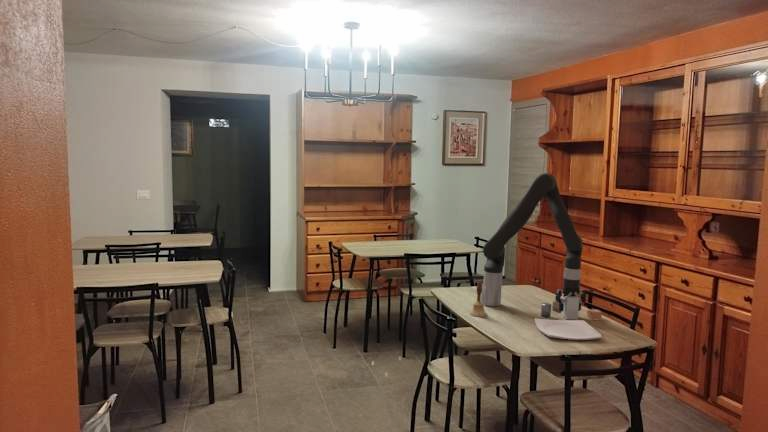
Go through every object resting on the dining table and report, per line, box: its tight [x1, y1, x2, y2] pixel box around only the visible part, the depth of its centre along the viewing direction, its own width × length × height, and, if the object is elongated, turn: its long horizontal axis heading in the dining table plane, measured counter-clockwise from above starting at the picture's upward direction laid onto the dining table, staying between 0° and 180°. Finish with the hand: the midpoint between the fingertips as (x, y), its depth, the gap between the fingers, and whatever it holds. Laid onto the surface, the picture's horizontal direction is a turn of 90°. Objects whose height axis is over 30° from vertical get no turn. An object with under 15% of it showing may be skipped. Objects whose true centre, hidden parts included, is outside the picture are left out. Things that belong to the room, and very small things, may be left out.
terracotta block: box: [586, 309, 603, 321], centre depth 245 cm, size 5×4×4 cm
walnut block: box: [552, 301, 561, 314], centre depth 256 cm, size 4×4×4 cm
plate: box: [534, 318, 603, 341], centre depth 224 cm, size 24×24×3 cm
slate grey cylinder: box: [540, 302, 552, 319], centre depth 247 cm, size 4×4×6 cm
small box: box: [560, 293, 580, 320], centre depth 246 cm, size 8×6×10 cm
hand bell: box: [469, 281, 488, 318], centre depth 246 cm, size 8×8×16 cm
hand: (569, 310), depth 246 cm, fingers open, 8 cm apart
